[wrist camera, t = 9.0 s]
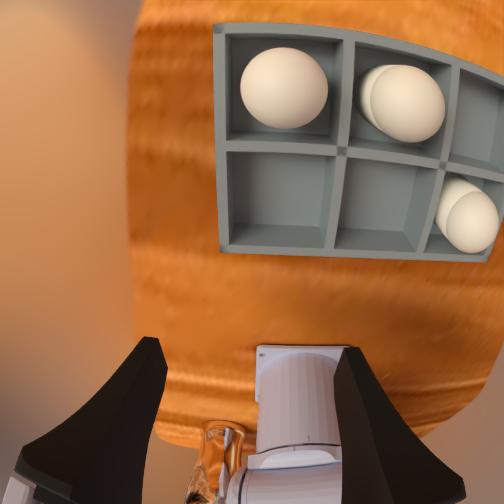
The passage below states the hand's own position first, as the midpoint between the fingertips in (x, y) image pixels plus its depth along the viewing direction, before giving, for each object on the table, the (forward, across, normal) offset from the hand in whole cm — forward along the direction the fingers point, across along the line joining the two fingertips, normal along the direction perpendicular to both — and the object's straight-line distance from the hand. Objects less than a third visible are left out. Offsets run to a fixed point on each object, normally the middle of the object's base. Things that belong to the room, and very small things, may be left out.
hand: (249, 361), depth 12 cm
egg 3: (+9, -12, -4) cm, 15 cm away
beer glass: (+10, +4, +29) cm, 31 cm away
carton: (+9, -6, -6) cm, 13 cm away
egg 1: (+9, -1, -9) cm, 13 cm away
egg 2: (+9, -6, -9) cm, 14 cm away
